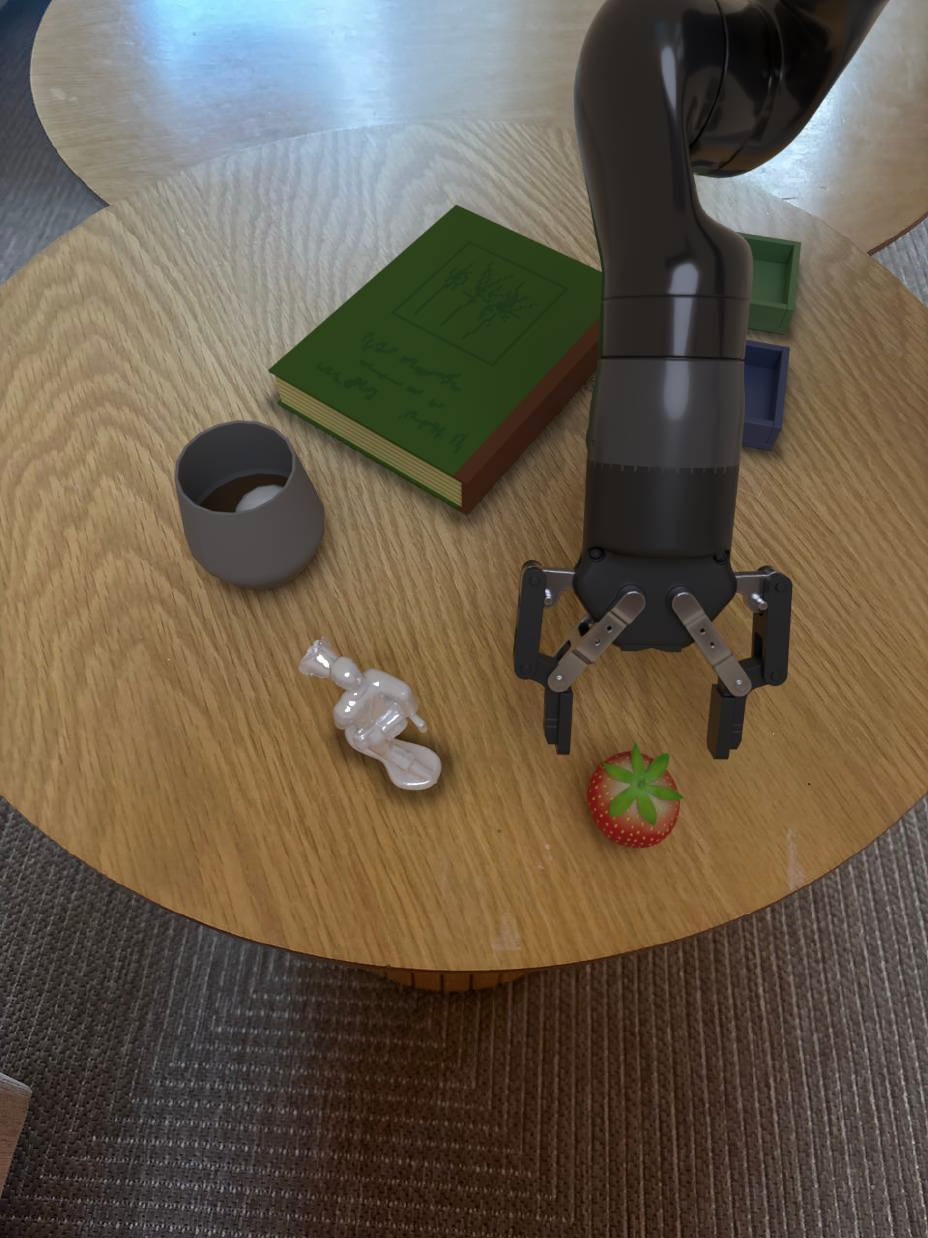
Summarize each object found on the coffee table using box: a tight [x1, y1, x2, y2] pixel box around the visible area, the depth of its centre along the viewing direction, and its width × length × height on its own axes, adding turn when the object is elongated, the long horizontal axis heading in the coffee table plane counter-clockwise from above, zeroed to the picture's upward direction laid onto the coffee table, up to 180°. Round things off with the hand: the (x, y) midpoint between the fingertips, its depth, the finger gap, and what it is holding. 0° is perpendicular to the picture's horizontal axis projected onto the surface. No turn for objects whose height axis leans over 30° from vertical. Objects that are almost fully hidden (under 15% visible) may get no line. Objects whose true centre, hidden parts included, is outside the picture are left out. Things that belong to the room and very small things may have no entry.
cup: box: [173, 419, 326, 591], centre depth 59 cm, size 10×9×10 cm
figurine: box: [297, 635, 443, 791], centre depth 51 cm, size 5×9×12 cm, turn 63°
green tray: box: [735, 231, 802, 335], centre depth 76 cm, size 9×9×3 cm
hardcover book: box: [268, 204, 602, 516], centre depth 71 cm, size 25×19×4 cm
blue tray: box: [741, 339, 791, 452], centre depth 70 cm, size 9×9×3 cm
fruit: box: [586, 741, 685, 849], centre depth 51 cm, size 5×5×8 cm
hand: (639, 752), depth 49 cm, fingers open, 8 cm apart
